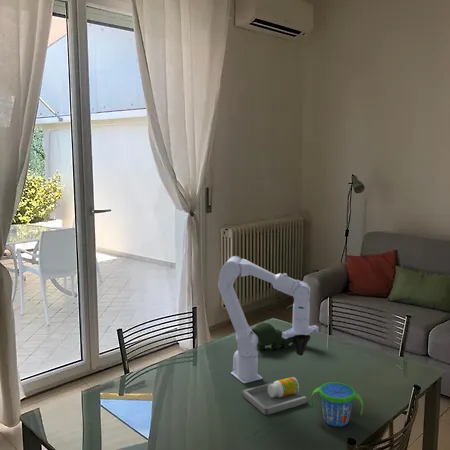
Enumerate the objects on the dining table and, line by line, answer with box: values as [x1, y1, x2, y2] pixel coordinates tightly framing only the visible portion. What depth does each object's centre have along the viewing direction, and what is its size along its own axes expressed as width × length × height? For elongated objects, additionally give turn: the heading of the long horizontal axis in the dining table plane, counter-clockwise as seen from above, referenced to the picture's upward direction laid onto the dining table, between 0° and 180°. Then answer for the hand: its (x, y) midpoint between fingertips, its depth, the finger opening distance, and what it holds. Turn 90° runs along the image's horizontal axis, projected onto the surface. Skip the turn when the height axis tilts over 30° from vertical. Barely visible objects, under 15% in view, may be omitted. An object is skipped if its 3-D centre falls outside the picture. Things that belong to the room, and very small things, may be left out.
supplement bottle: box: [268, 376, 300, 398], centre depth 168 cm, size 5×5×10 cm
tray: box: [241, 381, 308, 416], centre depth 166 cm, size 14×16×2 cm
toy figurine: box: [251, 304, 294, 351], centre depth 209 cm, size 9×19×25 cm
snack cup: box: [309, 381, 364, 428], centre depth 153 cm, size 16×10×10 cm
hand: (299, 354), depth 177 cm, fingers closed
